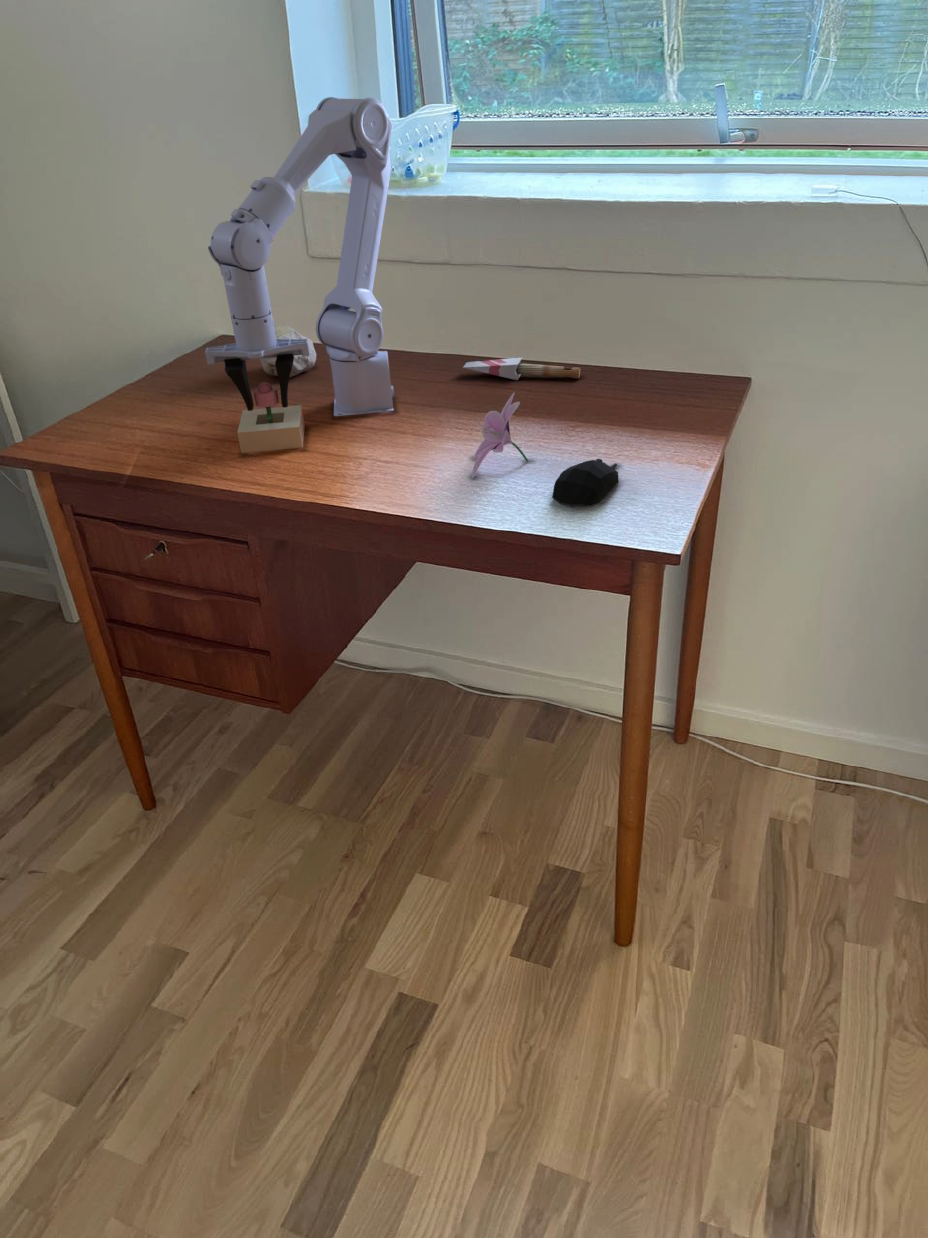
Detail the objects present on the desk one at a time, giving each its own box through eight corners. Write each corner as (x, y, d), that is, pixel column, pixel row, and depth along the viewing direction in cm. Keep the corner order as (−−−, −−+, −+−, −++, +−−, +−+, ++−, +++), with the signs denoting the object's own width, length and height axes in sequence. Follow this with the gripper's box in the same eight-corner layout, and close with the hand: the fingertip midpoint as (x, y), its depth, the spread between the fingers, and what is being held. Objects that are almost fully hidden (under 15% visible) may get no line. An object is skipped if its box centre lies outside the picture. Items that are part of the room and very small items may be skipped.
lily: (495, 447, 136) (461, 397, 131) (564, 426, 130) (531, 373, 124) (473, 504, 130) (435, 454, 124) (544, 485, 123) (508, 432, 117)
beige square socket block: (305, 428, 144) (301, 404, 142) (303, 450, 137) (299, 426, 135) (247, 433, 144) (242, 410, 142) (242, 456, 136) (237, 432, 134)
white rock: (329, 363, 171) (279, 367, 173) (320, 317, 167) (269, 322, 169) (306, 381, 160) (253, 385, 163) (296, 332, 156) (242, 337, 159)
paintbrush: (467, 352, 161) (581, 361, 156) (467, 368, 162) (580, 377, 158) (461, 359, 158) (577, 369, 153) (461, 375, 159) (577, 385, 155)
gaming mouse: (637, 470, 125) (638, 442, 122) (587, 515, 115) (588, 486, 112) (595, 461, 128) (595, 434, 125) (543, 505, 118) (542, 476, 115)
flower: (285, 433, 141) (276, 377, 137) (284, 443, 138) (274, 387, 133) (263, 435, 141) (253, 379, 136) (261, 445, 138) (250, 389, 133)
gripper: (195, 326, 126) (215, 421, 133) (302, 317, 127) (316, 411, 134) (201, 312, 132) (221, 403, 139) (303, 303, 133) (317, 394, 140)
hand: (268, 406), depth 137 cm, fingers open, 4 cm apart
